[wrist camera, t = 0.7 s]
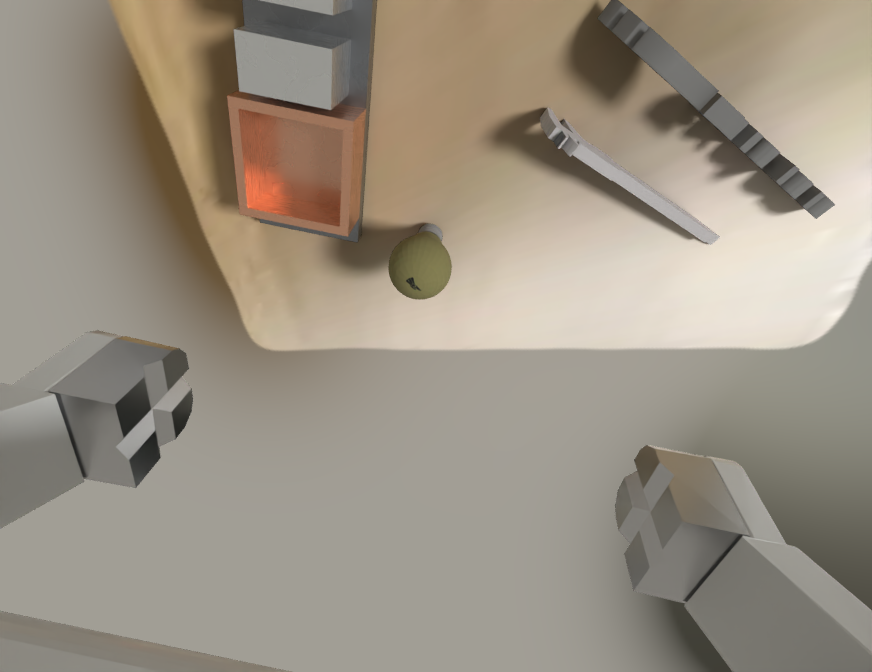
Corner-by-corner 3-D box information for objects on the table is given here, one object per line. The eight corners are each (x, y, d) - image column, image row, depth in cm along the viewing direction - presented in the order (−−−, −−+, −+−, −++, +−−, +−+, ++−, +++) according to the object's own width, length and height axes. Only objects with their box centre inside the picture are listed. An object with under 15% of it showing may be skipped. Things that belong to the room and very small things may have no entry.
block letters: (595, 16, 36) (606, 25, 32) (611, -5, 35) (624, 1, 31) (803, 207, 43) (836, 237, 38) (821, 194, 42) (857, 222, 37)
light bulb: (394, 239, 49) (372, 293, 42) (418, 194, 46) (399, 243, 38) (441, 265, 51) (428, 322, 43) (469, 223, 47) (460, 276, 40)
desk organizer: (244, -92, 34) (198, -100, 29) (381, -64, 34) (358, -67, 29) (265, 216, 50) (237, 245, 45) (361, 235, 50) (343, 267, 45)
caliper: (538, 116, 41) (541, 138, 36) (547, 104, 40) (551, 125, 35) (709, 242, 46) (732, 277, 41) (719, 234, 45) (743, 268, 40)
